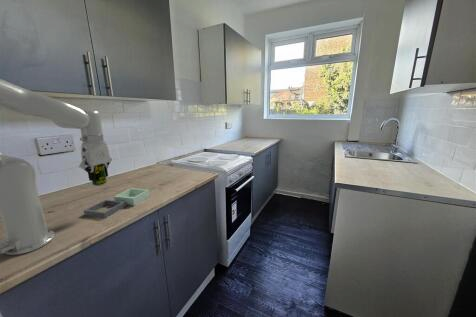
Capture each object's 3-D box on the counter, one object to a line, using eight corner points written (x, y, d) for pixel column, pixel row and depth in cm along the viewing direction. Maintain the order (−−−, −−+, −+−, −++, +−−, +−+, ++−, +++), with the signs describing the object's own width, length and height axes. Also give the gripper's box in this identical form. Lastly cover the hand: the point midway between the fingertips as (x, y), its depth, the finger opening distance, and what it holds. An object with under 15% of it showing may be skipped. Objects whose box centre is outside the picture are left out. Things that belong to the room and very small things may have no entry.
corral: (105, 218, 87) (104, 213, 86) (84, 215, 90) (83, 210, 89) (125, 206, 98) (124, 201, 97) (106, 204, 101) (105, 199, 100)
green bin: (134, 205, 98) (133, 198, 97) (115, 203, 101) (114, 196, 100) (149, 196, 109) (148, 189, 108) (132, 194, 112) (131, 188, 111)
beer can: (90, 185, 89) (86, 159, 87) (103, 181, 94) (99, 157, 91) (96, 187, 87) (92, 160, 84) (109, 183, 91) (105, 158, 89)
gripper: (80, 141, 77) (87, 185, 81) (116, 137, 93) (120, 173, 97) (65, 141, 79) (73, 184, 82) (103, 137, 95) (108, 172, 99)
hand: (99, 178), depth 90 cm, fingers closed on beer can, 5 cm apart
